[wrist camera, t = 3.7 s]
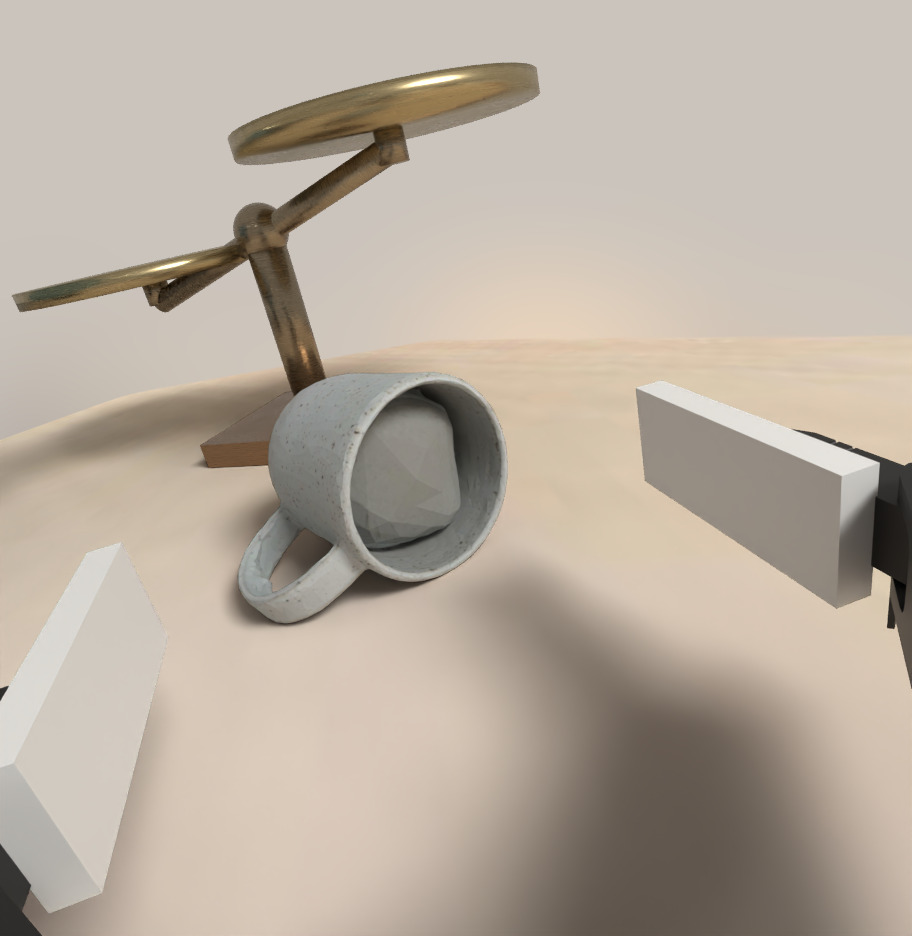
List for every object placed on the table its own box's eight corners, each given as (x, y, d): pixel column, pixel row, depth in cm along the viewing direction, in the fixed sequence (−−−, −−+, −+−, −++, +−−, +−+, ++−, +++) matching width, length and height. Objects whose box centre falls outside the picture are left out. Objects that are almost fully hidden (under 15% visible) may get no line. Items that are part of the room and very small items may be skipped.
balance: (49, 493, 43) (-91, 225, 36) (203, 408, 57) (122, 200, 50) (552, 475, 30) (483, 45, 23) (598, 369, 43) (563, 77, 36)
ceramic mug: (410, 483, 33) (370, 339, 29) (526, 522, 26) (490, 346, 23) (219, 592, 27) (144, 428, 24) (311, 674, 21) (226, 468, 18)
